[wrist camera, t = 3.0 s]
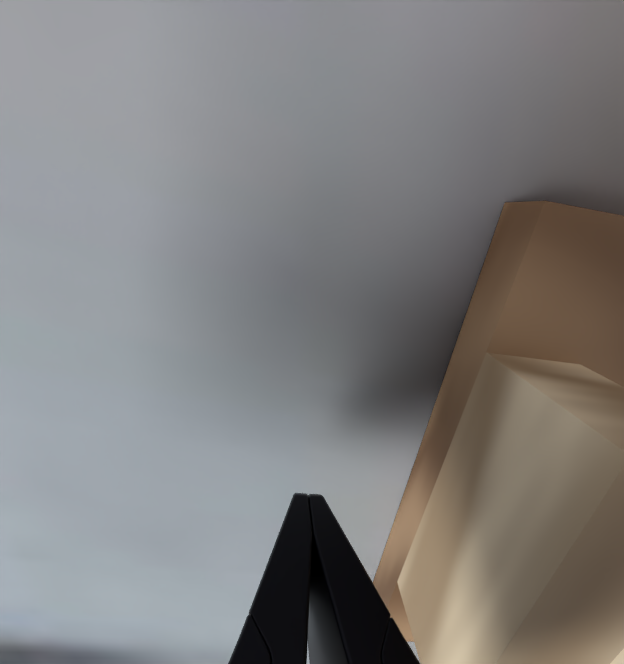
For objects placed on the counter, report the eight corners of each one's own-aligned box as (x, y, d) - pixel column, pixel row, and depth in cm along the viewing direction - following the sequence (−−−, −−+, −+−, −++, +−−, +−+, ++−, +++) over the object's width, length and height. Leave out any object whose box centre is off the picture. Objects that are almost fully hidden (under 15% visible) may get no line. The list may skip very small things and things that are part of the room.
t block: (397, 581, 12) (444, 743, 8) (486, 352, 9) (630, 455, 5) (618, 589, 13) (745, 734, 10) (774, 388, 10) (1065, 495, 6)
